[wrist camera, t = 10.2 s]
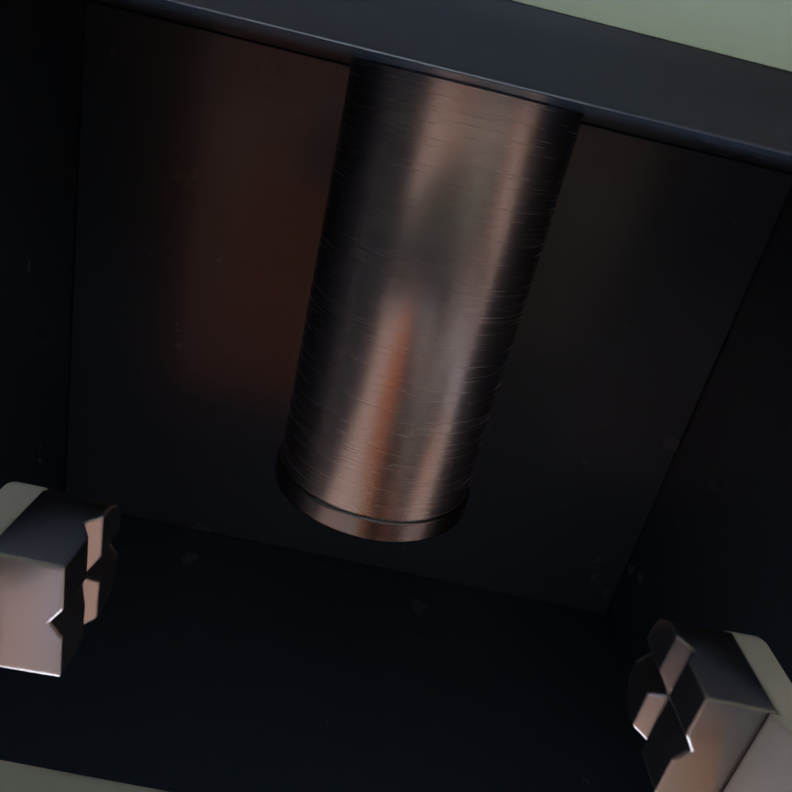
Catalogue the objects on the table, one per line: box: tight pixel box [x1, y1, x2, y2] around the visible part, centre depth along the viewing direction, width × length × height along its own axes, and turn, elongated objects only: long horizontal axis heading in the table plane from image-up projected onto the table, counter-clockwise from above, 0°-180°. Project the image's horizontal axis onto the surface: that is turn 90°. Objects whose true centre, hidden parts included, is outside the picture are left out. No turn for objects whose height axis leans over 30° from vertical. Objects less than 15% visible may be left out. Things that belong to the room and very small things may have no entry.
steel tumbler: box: [275, 58, 583, 542], centre depth 20 cm, size 6×6×12 cm
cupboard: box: [0, 0, 792, 792], centre depth 25 cm, size 20×32×26 cm, turn 92°
